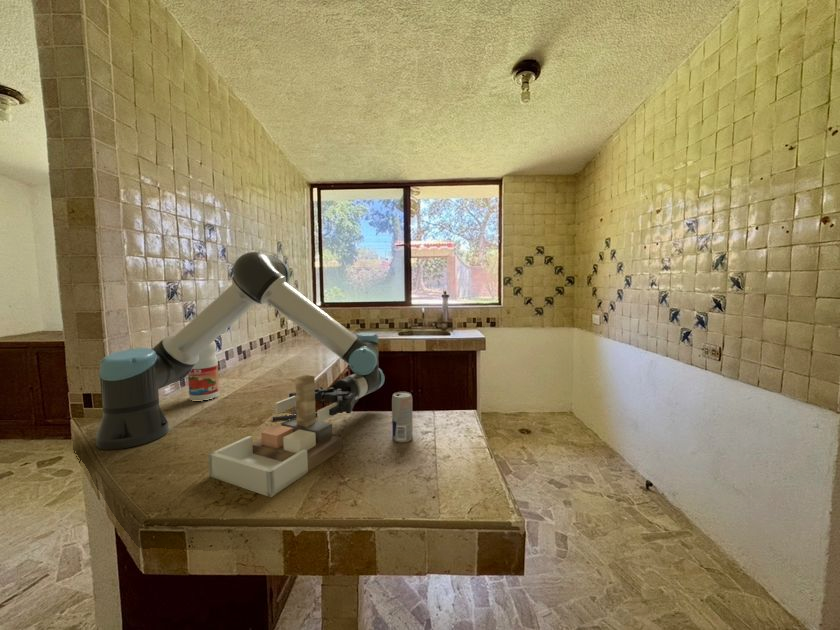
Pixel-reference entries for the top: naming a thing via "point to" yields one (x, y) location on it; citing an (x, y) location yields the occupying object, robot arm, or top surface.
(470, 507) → the top surface
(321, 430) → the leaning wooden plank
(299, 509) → the top surface
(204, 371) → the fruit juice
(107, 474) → the top surface
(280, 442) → the tile terracotta
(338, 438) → the board
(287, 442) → the tile cream
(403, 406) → the energy drink
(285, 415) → the bracket
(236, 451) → the tray
